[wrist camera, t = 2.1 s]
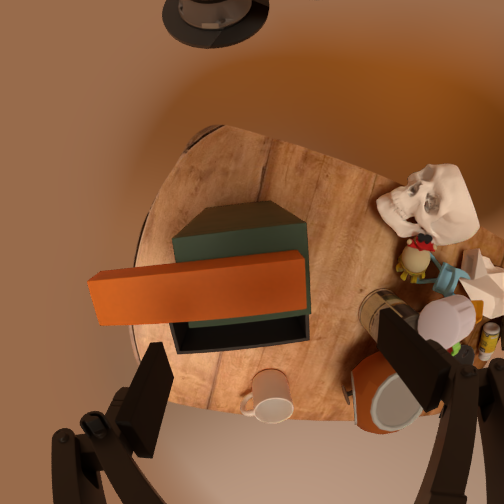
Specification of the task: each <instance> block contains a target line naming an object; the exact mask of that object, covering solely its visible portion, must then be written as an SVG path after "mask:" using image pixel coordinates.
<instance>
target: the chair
mask: <svg viewBox="0 0 504 504" xmlns="http://www.w3.org/2000/svg"><path fill="white" fill-rule="evenodd" d="M430 257H431V260H432V261H433V263H434V264H435V265H436V267H437V268H438V269H439V270H440V273H439V276H438V278H430V279H422V280H419V278H418V277H417V282H416V283H417V284H426V283H435V284H434V286H433V288H432V290H433V291H435V292H438V293H441V294H443V296H444V297H449V296H452V295H455V294H454V293H453V292H454V289H455V287H456V285H457V282H458V280H459V278H460V277H461V278H466V279H468V280H470V277H469V275H468V274H467V273H466V272H465V271H463V270H461V269H458V268H455V267H453V266H451V265H449V264H447V263H445V262H443V265H442V266H441V265H440V264H439V262H438V261H437V260H436V258H435V257H434V256H433V255H432V254H431V253H430Z"/></svg>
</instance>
